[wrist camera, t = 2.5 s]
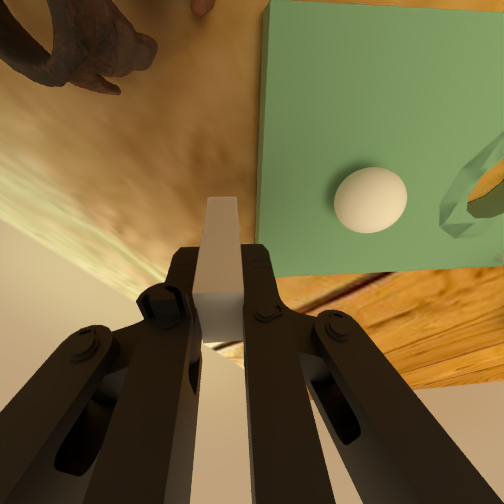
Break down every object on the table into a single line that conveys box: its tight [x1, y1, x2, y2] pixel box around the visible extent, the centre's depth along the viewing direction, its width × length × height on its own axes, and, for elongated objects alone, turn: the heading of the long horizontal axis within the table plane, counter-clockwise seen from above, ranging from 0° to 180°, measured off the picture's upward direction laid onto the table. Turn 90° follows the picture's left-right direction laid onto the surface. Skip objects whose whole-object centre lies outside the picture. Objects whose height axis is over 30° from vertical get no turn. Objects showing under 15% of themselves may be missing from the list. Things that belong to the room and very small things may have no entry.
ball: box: [334, 167, 407, 233], centre depth 14 cm, size 4×4×4 cm
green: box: [255, 0, 504, 277], centre depth 17 cm, size 25×17×2 cm
